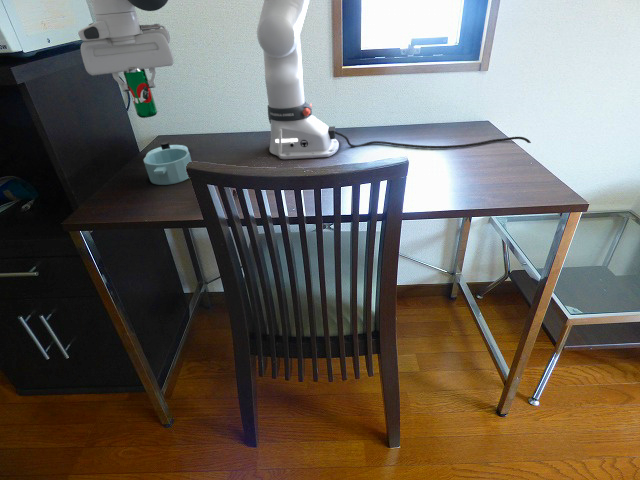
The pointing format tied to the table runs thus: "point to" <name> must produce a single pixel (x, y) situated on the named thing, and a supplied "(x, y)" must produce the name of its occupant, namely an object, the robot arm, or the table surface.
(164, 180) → the pan
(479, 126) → the table surface
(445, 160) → the table surface
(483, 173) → the table surface
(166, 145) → the lid
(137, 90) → the soda can
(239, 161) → the table surface
